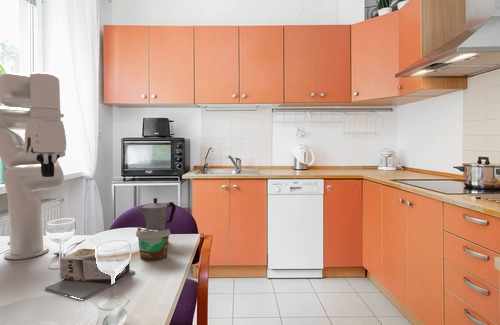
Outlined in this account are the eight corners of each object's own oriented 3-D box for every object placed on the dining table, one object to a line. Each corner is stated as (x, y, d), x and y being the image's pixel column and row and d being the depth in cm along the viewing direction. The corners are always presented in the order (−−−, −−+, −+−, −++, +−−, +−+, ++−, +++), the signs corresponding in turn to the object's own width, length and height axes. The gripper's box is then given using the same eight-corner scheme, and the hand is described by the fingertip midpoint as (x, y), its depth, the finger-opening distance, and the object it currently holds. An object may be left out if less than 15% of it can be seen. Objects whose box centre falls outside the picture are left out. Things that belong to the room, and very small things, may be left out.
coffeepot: (144, 250, 113) (144, 202, 112) (134, 244, 120) (133, 198, 119) (181, 241, 124) (181, 197, 123) (170, 236, 131) (169, 194, 130)
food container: (128, 260, 104) (127, 231, 103) (139, 254, 110) (138, 226, 109) (161, 264, 101) (161, 233, 100) (170, 257, 107) (170, 228, 106)
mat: (45, 289, 83) (45, 287, 83) (101, 265, 99) (101, 263, 99) (81, 300, 77) (81, 298, 77) (135, 273, 94) (134, 271, 94)
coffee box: (59, 280, 87) (112, 284, 85) (59, 257, 87) (111, 261, 84) (82, 268, 96) (130, 271, 94) (81, 247, 96) (130, 250, 93)
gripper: (61, 117, 101) (63, 173, 102) (10, 113, 87) (13, 178, 88) (77, 117, 98) (79, 175, 99) (27, 112, 84) (29, 179, 85)
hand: (48, 176), depth 94 cm, fingers closed
